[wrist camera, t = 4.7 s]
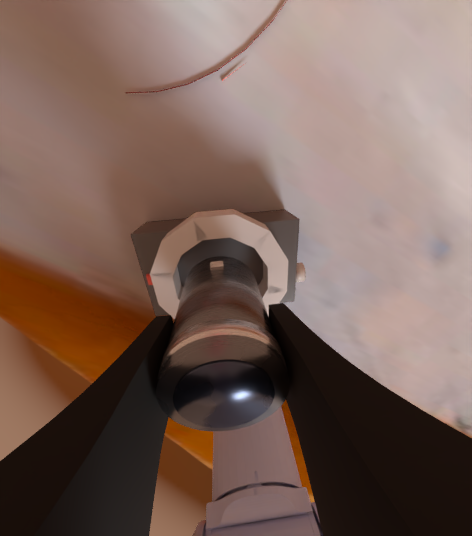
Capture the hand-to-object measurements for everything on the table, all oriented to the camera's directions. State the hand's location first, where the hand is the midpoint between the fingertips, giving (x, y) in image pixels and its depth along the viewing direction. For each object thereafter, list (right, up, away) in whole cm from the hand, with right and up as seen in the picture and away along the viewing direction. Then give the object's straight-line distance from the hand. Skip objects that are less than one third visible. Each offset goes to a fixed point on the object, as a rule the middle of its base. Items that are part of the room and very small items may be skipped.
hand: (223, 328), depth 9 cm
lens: (0, +1, +3) cm, 3 cm away
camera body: (-1, +4, +7) cm, 8 cm away
